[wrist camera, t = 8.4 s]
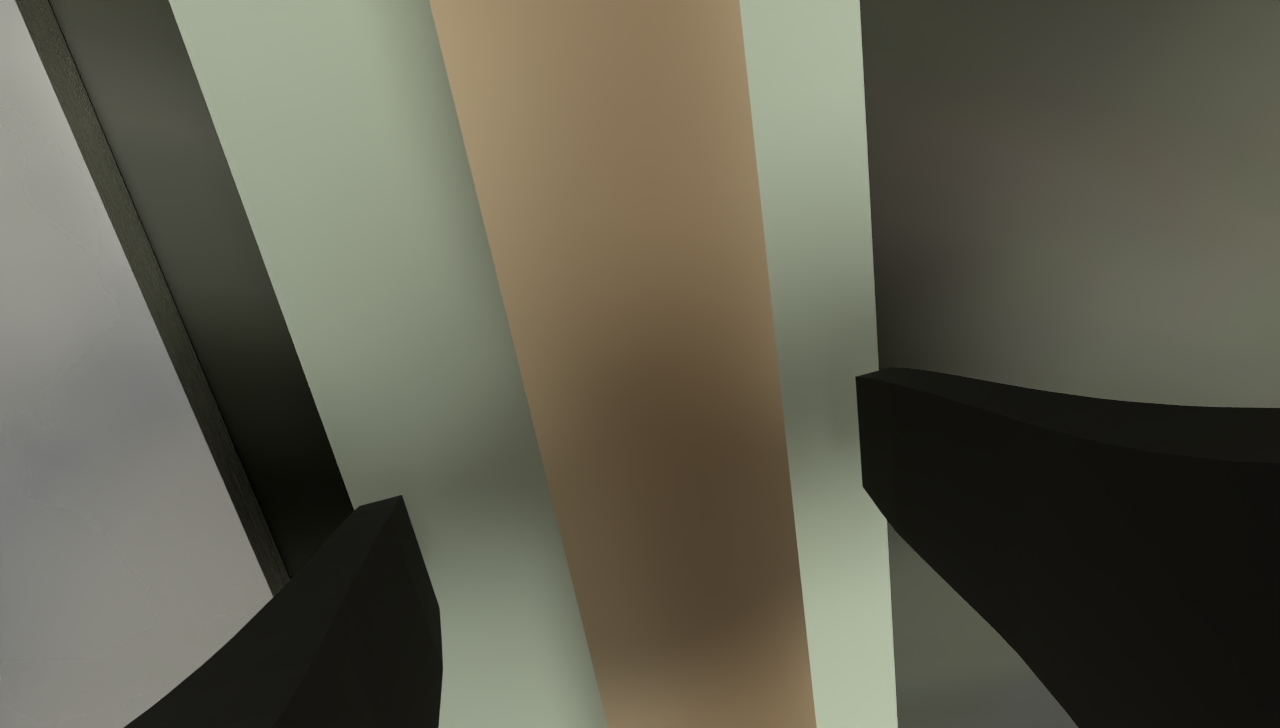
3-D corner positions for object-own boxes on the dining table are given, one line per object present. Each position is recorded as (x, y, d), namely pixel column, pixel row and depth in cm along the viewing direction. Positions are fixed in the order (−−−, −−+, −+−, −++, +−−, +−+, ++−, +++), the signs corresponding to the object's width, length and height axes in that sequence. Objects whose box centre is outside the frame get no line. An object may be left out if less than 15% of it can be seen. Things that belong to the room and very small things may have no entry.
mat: (546, 1017, 17) (549, 1047, 16) (-74, -721, 7) (-121, -795, 6) (893, 883, 18) (907, 907, 18) (795, -723, 8) (818, -781, 8)
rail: (661, 943, 16) (703, 1114, 13) (305, -508, 8) (216, -866, 5) (786, 896, 17) (851, 1052, 14) (584, -519, 8) (649, -852, 5)
